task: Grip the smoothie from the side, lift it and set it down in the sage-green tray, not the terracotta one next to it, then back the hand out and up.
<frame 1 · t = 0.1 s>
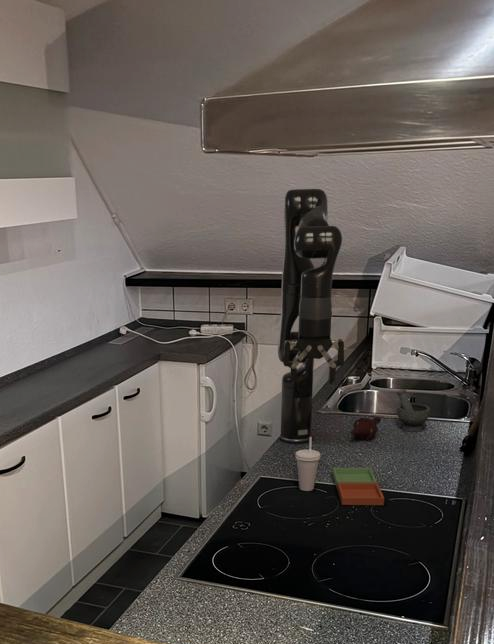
hand: (312, 383, 185), 29 cm above the countertop, tool pointing down, fingers open, 8 cm apart
terracotta tray: (359, 497, 193), on the countertop
mortar and pestle: (410, 428, 244), on the countertop
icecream: (364, 439, 235), on the countertop
green tray: (353, 481, 203), on the countertop
smoothie: (306, 488, 199), on the countertop
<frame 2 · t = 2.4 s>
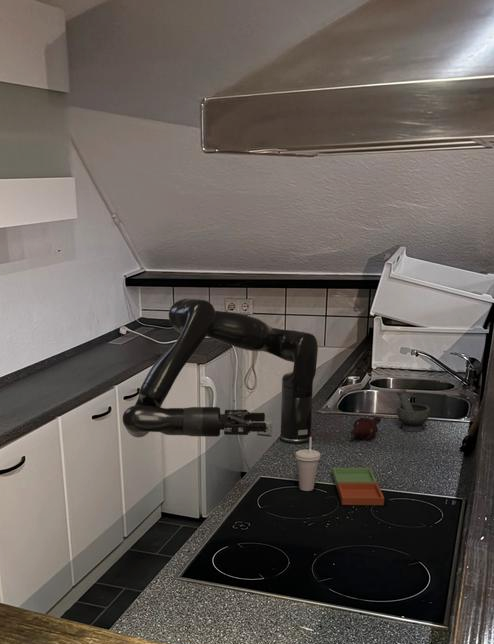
hand: (265, 422, 193), 18 cm above the countertop, tool horizontal, fingers open, 8 cm apart
nothing on the countertop moved.
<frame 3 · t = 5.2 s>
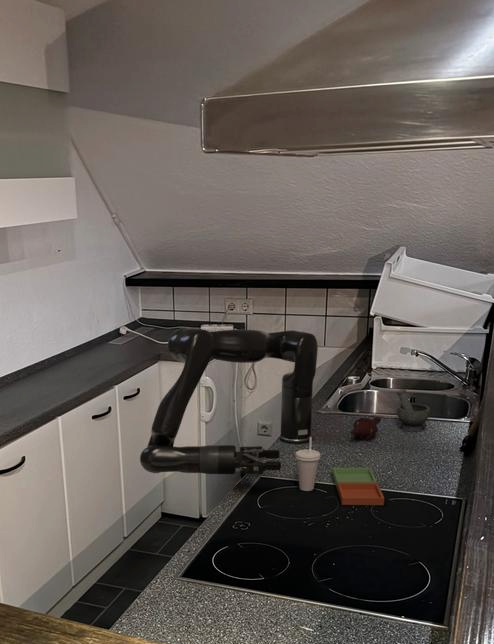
hand: (280, 459, 197), 8 cm above the countertop, tool horizontal, fingers open, 8 cm apart
nothing on the countertop moved.
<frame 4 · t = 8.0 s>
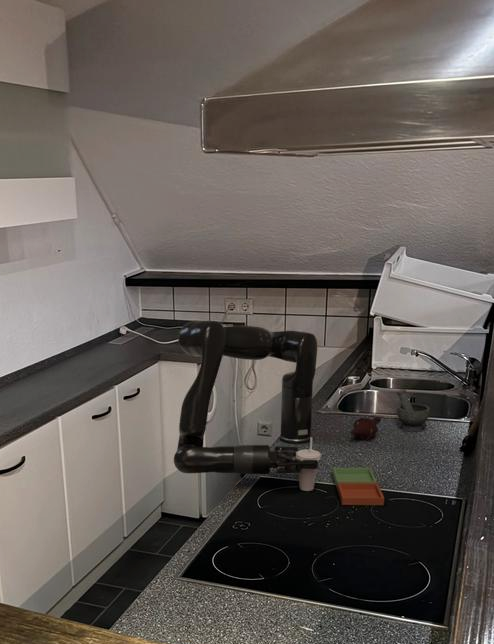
hand: (316, 459, 196), 8 cm above the countertop, tool horizontal, fingers closed on smoothie, 6 cm apart
smoothie: (306, 488, 199), on the countertop, touching gripper
everything else where it was.
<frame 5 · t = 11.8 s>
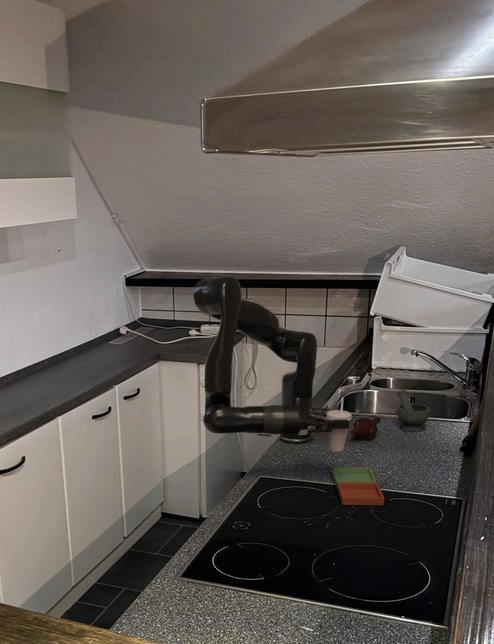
hand: (346, 420, 195), 18 cm above the countertop, tool horizontal, fingers closed on smoothie, 6 cm apart
smoothie: (336, 450, 198), point 9 cm above the countertop, touching gripper
everything else where it was.
when the fingers open (8 cm above the countertop, at t = 15.8 s): smoothie stays where it is, resting on green tray.
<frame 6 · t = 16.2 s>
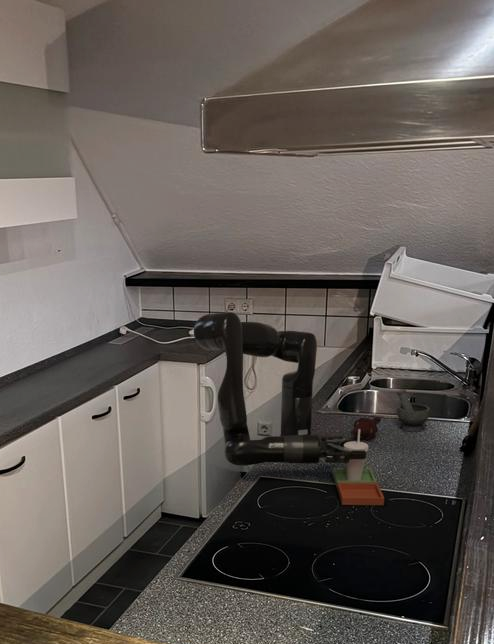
hand: (363, 449, 200), 9 cm above the countertop, tool horizontal, fingers open, 8 cm apart
smoothie: (353, 480, 203), resting on green tray
everything else where it was.
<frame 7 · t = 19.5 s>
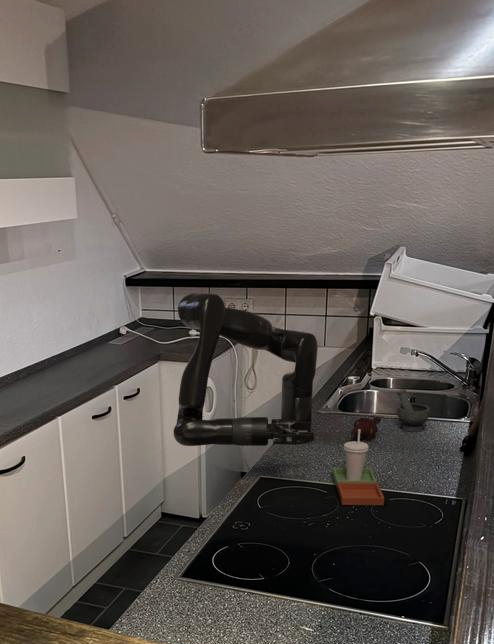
hand: (312, 431, 199), 14 cm above the countertop, tool horizontal, fingers open, 8 cm apart
nothing on the countertop moved.
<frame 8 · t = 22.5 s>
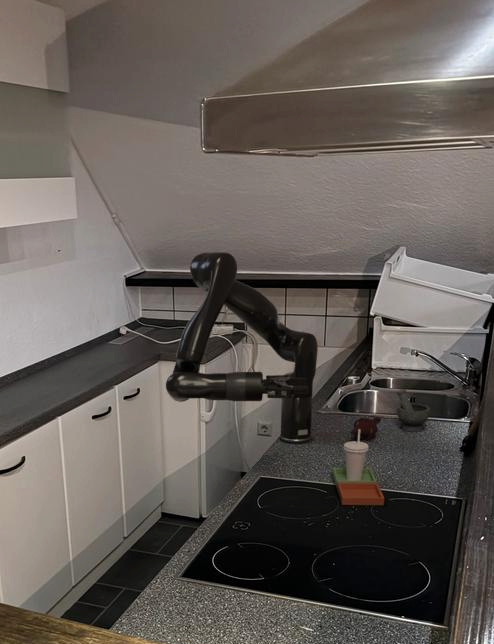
hand: (307, 386, 195), 26 cm above the countertop, tool horizontal, fingers open, 8 cm apart
nothing on the countertop moved.
at the end: smoothie 0.1 cm off-centre in the green tray, point 0.2 cm above the green tray's base; smoothie tilted 0°; the gripper is holding nothing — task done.
